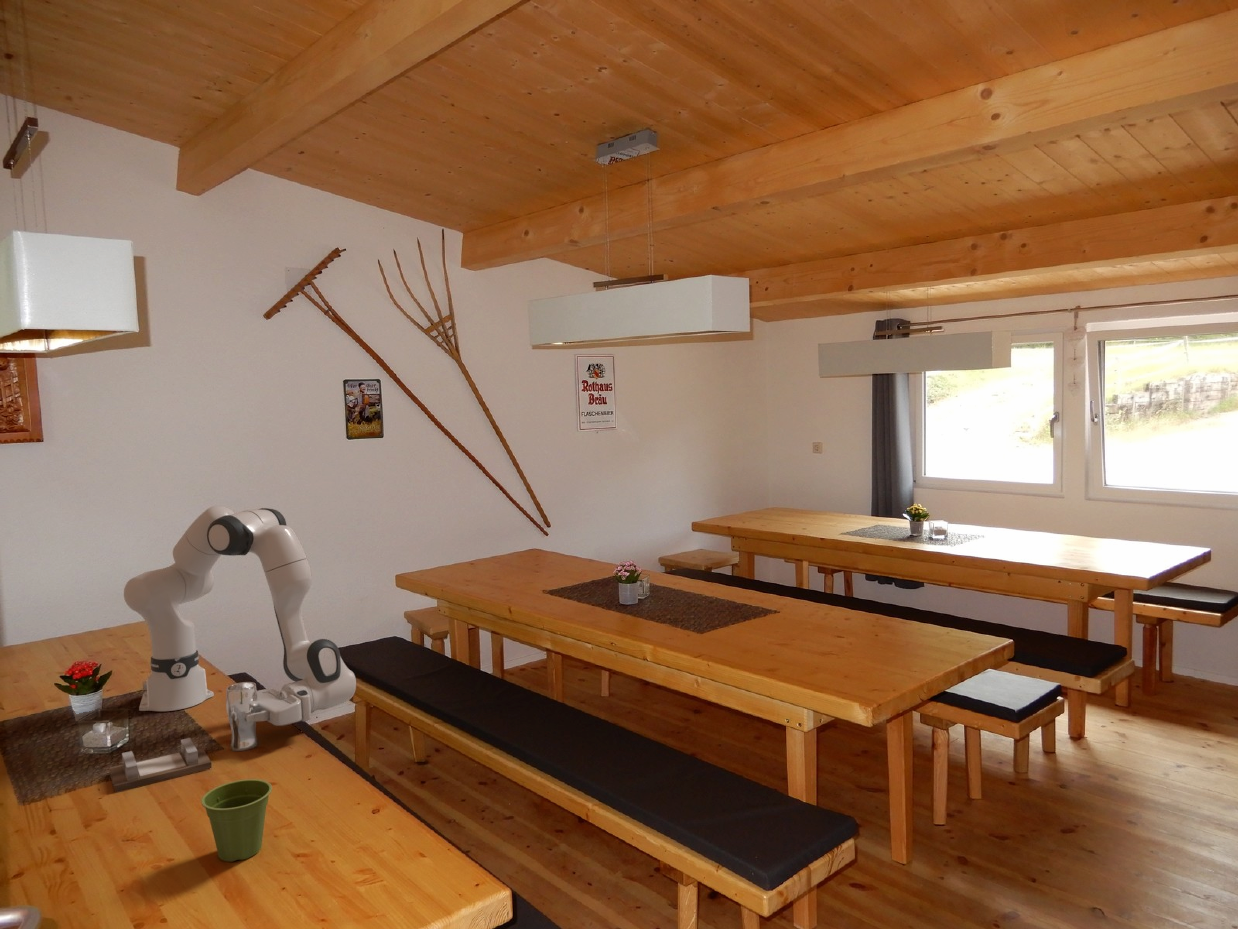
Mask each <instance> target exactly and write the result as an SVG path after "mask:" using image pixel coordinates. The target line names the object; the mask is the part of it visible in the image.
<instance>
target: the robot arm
mask: <svg viewBox="0 0 1238 929" xmlns="http://www.w3.org/2000/svg"><path fill="white" fill-rule="evenodd" d="M285 518H286V517H285V516H284V515H283V514H282V513H281V512H280V511H278V510H276V509H274V508H267V507H264V508H263V507H262V508H257V509H249V510H242V511H239V512H236V513H235V512H234V511H233V510H232V509H231V508H228V507H227V506H223V505H214V506H210V507H208V508H207V509H205V511H203V512H201V514H200V515H199V516H197V518H196V519H195V520H194V521H193V522H192V523H191V524H190V526H188V528H187V529H186V531H184V534H183V535H182V536H181V537H180V539H179V540H178V541H177V542H176V544H175V545H174V547H173V549H172V557H173V560H174V563H173V564H171V565H169V566H166V567H163V568H160V569H159V568H158V569H154V570H150V571H145V572H143V573H140V574H139V575H137V576H134V577H131V578H130V579H129V580H128V581H127V582H126V584H125V585H124V589H123V597H124V603H126V605H127V606H128V608H129V609H130V610H132V611H134V612H136V613H137V614H139V615H140V616H141V617H142V618H143V619H144V622H145V623H146V625H147V626H148V631H149V634H150V636H149V637H150V644H151V657H150V663H149V664H150V670H151V672H150V674H149V676H148V677H147V679H146V680H145V681H142V690H144V691H145V690H146V691H145V692H143V694H142V697H141V700H140V704H139V707H138V708H139V709H138V711H140V712H146V711H147V712H148V711H150V712H151V711H152V712H170V711H171V712H172V711H178V710H183V709H189V708H191V707H194V706H196V705H199V704H201V703H203V702H205V701H206V700H208V699H210V698H212V697H214V696H215V694H214V691H212V690H210V689H208V686H207V685H208V684H207V675H206V669H205V668H203V667H202V666H200V664H199V663H200V661H199V660H200V659H199V658H200V655H199V651H198V650H197V639H196V637H197V636H196V626H195V624H194V623H193V622H192V621H191V620H190V619H188V618H185V617H183V616H182V615H181V612H180V609H179V605H182V604H185V603H190V602H194V601H196V600H197V599H200V598H202V597H204V596H206V595H207V594H209V593H210V592H211V591H212V589H213V587H214V584H215V577H214V573H213V571H212V569H213V566H214V565H215V564H216V563H217V561H218V560H219V558H220V557H221V556H233V557H234V556H246V555H247V554H248V553H252V554H254V555H256V556H257V557H258V558H259V561H260V563H261V566H262V570H263V573H264V575H265V579H266V581H267V585H268V588H269V591H270V595H271V599H272V604H273V608H274V613H275V618H276V621H277V626H278V629H279V633H280V634H279V635H280V637H281V641H282V644H283V646H282V647H283V660H282V662H283V663H282V664H283V665H282V666H283V670H284V673H285V674H286V676H287V677H288V679H290V680H291V681H293V682H289V683H287V684H284V685H283V686H282V687H281V690H276V689H274V688H265V689H259V690H257V698H258V710H257V713H250V714H247V715H245V717H244V718H245V721H246V722H247V723H251V722H254V721H255V722H256V723H257V722H265V721H267V722H268V723H270V724H272V725H273V726H277V727H278V726H279V727H280V726H286V725H287V726H288V725H290V724H294V723H298V722H308V721H310V720H311V719H312V718H311V717H312V716H311V715H312V714H313V713H314V712H315V711H319V710H320V711H321V710H324V711H325V710H328V709H331V708H334V707H337V706H340V705H343V704H344V703H345V704H346V702H348V701H349V700H351V699H352V697H354V695H355V692H356V690H357V679H356V675H355V673H354V672H353V671H352V670H350V669H349V667H348V666H347V665H346V663H345V662H344V660H343V659H342V656H341V653H340V649H339V647H338V646H337V645H336V642H334V641H332V640H330V639H327V638H319V639H316V640H313V641H310V640H309V638H308V635H307V631H306V626H305V623H304V618H303V614H302V606H303V605H302V604H303V601H304V599H305V597H306V595H307V593H308V592H309V590H310V589H311V587H312V584H313V577H312V569H311V566H310V562H309V560H308V559H307V558H308V557H307V555H306V552H305V549H304V546H302V543H301V542H300V539H299V538H298V535H297V533H295V531H294V530H293V528H292V527H290V526H289V525H287V521H286V519H285Z"/></svg>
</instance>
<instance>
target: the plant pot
mask: <svg viewBox="0 0 1238 929" xmlns="http://www.w3.org/2000/svg"><path fill="white" fill-rule="evenodd" d="M272 790H273V786H272V784H271V783H270V782H269V781H266V780H263V779H255V778H253V779H252V778H251V779H250V778H249V779H241V780H234V781H230V782H226V783H222V784H221V785H218V786H216V787H214V788H212V789H210V790H209V791H207V792H205V793H204V795H203V796H202V798H201V801H200V803H201V805H202V807H204V808H205V811H206V812H205V813H206V815H207V817H208V818H209V822H210V826H211V830H212V835H213V838H214V843H215V847H216V851H217V856H218V858H219V859H220V860H221V861H224V862H232V863H233V862H235V861H237V860H242V861H243V860H248V859H249V858H252V857H253V856H255V855H256V854H258V853H259V852H260V850H261V848H262V846H263V844H262V843H263V836H264V828H265V821H266V820H265V819H266V811H267V806H268V803H269V798H270V797H269V795H270V794H271V792H272Z"/></svg>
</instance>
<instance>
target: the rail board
mask: <svg viewBox="0 0 1238 929" xmlns="http://www.w3.org/2000/svg"><path fill="white" fill-rule="evenodd" d="M121 758H122V759H121V760H122V761H121V763H122V764H119V765H115V766H110V767H109V769H108V770H109V776H110V779H111V783H112V787H113V789H114V793H119V792H124V791H127V790H131V789H136V788H139V787H143V786H147V785H151V784H156V783H160V782H164V781H167V780H172V779H175V778H179V777H184V776H188V775H191V774H190V773H192V774H197V773H199V771H200V772H203V771H202V770H204V771H207V769H208V770H211V769H210V768H212V761H211V759H210V758H209V756H208V755H207V753H206V750H205V749H204V748H203V746H202V745H200V746H196V745H195V744H194V742H193V741H192V739H191V737H187V738H184V739H183V738H182V739H180V750H178V751H174V752H170V753H166V754H162V755H161V754H160V755H157V756H154V757H149V758H145V759H140V760H136V758H135V755H134V753H133V750H130V751H126V752H122V753H121ZM187 774H188V775H187Z"/></svg>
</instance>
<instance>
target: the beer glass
mask: <svg viewBox="0 0 1238 929" xmlns="http://www.w3.org/2000/svg"><path fill="white" fill-rule="evenodd" d="M257 691H258V690H257V684H256V683H255V682H251V681H244V682H237V683H233V684H231V685H228V686H227V687H226V697H225V698H226V703H225V704H226V706H225V707H226V712H227V713H226V714H227V718H228V722H229V725H230V730H231V741H230V750H232V751H233V752H244V751H245V752H246V751H249V750H251V749H252V750H253V749H255V748H256V747H257V746H258V745H259V742H258V738H257V734H256V726H257V724H256V723H257V721H256V722H255V721H254V722H251V723H247V722H246V721H245V718H244V717H245V715H247V714H250V713H257V710H258V698H257Z"/></svg>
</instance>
